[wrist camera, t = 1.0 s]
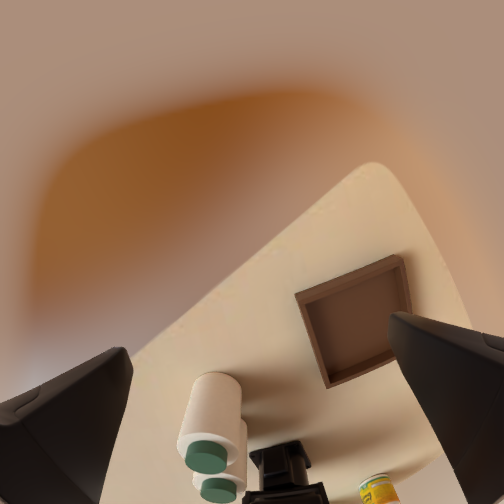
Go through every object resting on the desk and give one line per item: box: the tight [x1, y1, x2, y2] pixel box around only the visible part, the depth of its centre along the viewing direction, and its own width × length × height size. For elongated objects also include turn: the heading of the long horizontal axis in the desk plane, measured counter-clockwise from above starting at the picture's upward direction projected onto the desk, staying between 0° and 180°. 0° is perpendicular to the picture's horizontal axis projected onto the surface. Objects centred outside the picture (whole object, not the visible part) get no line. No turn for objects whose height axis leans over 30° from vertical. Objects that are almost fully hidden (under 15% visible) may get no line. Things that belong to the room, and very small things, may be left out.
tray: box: [294, 255, 413, 389], centre depth 24 cm, size 10×10×2 cm
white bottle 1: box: [177, 372, 242, 475], centre depth 22 cm, size 5×5×10 cm
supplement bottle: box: [359, 474, 401, 504], centre depth 26 cm, size 5×5×10 cm
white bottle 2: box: [192, 419, 247, 504], centre depth 23 cm, size 5×5×10 cm
